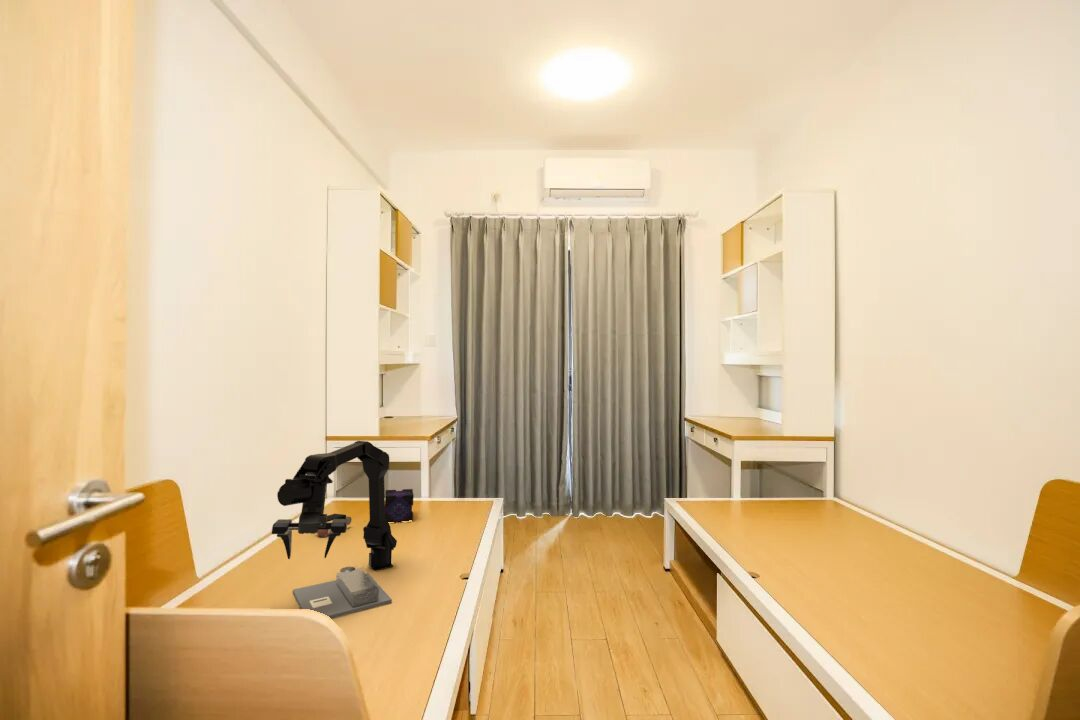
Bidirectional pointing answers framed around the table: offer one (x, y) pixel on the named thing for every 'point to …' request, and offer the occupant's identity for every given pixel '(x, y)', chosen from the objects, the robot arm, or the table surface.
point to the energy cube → (398, 505)
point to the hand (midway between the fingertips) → (307, 558)
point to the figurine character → (329, 518)
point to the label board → (334, 599)
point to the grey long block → (357, 586)
